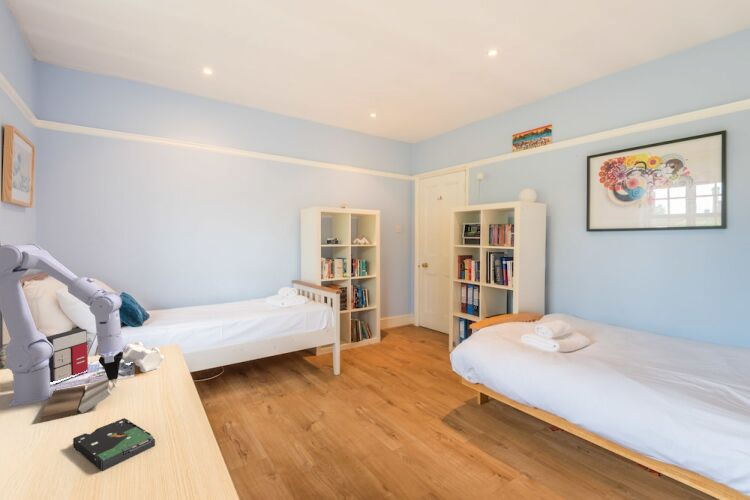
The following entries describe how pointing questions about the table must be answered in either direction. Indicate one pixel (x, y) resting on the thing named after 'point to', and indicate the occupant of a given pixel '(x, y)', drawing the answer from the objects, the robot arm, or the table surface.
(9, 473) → the table surface
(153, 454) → the table surface
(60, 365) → the calculator
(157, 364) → the bone shaped toy
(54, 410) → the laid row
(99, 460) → the disk drive
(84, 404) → the plank
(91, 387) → the plank
